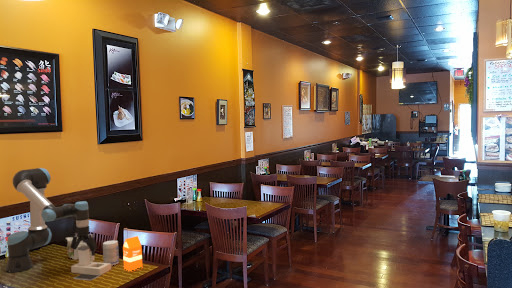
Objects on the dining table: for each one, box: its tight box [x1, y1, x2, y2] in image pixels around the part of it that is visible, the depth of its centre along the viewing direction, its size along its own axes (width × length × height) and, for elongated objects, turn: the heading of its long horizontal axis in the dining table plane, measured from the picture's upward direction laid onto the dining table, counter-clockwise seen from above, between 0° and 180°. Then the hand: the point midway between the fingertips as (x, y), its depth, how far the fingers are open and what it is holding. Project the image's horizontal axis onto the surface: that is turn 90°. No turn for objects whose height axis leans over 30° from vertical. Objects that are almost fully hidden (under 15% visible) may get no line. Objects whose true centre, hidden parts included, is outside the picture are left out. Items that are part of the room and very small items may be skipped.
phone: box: [73, 273, 101, 281], centre depth 233 cm, size 7×13×1 cm, turn 72°
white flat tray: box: [70, 261, 112, 276], centre depth 243 cm, size 22×10×4 cm, turn 72°
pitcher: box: [65, 236, 88, 260], centre depth 272 cm, size 11×18×14 cm, turn 72°
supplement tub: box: [102, 240, 120, 267], centre depth 255 cm, size 10×10×15 cm
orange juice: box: [122, 235, 143, 272], centre depth 245 cm, size 8×9×20 cm
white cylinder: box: [78, 245, 91, 266], centre depth 245 cm, size 5×5×14 cm
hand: (84, 259), depth 245 cm, fingers open, 12 cm apart
